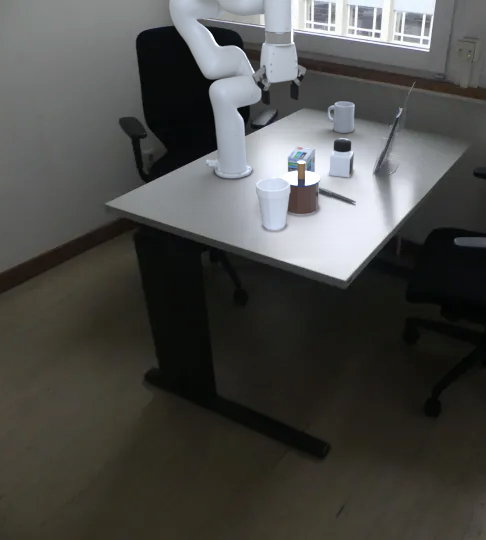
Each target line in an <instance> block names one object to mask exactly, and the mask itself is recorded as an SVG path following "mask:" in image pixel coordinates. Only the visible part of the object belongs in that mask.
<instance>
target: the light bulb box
mask: <svg viewBox="0 0 486 540" xmlns="http://www.w3.org/2000/svg"><path fill="white" fill-rule="evenodd" d="M298 161H305V171H309V172H313V173H316V148H311V147H303V146H296V147H295V148H294V149H292V151H291V153H290V154H289V155H288V156H287V173H289V172H293V171H297V162H298Z"/></svg>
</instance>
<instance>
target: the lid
mask: <svg viewBox="0 0 486 540" xmlns="http://www.w3.org/2000/svg"><path fill="white" fill-rule="evenodd" d="M282 179H285V180H287V181H289V183H290V186H294V187H309V186H313V185H316V184H318V183H320V182H321V177H320V175H318V174H317V173H316V172H315V173H313V172H309V171H305V161H298V162H297V171H293V172H289V173H288V172H287V173H285V174H283V176H282Z"/></svg>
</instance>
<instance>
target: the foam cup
mask: <svg viewBox="0 0 486 540" xmlns="http://www.w3.org/2000/svg"><path fill="white" fill-rule="evenodd" d="M255 192H256V195H257V199H258V200H257V201H258V205H259V209H260V210H259V211H260V215H261V221H262V225H263V227H264V228H266V229H267V230H281V229H282V228H284V227H285V226H286V224H287V217H288V211H287V210H288V202H289V194H290V183H289V181H287V180H285V179H283V178H282V177H266V178H262V179H259V180H257V182H256V183H255Z"/></svg>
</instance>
